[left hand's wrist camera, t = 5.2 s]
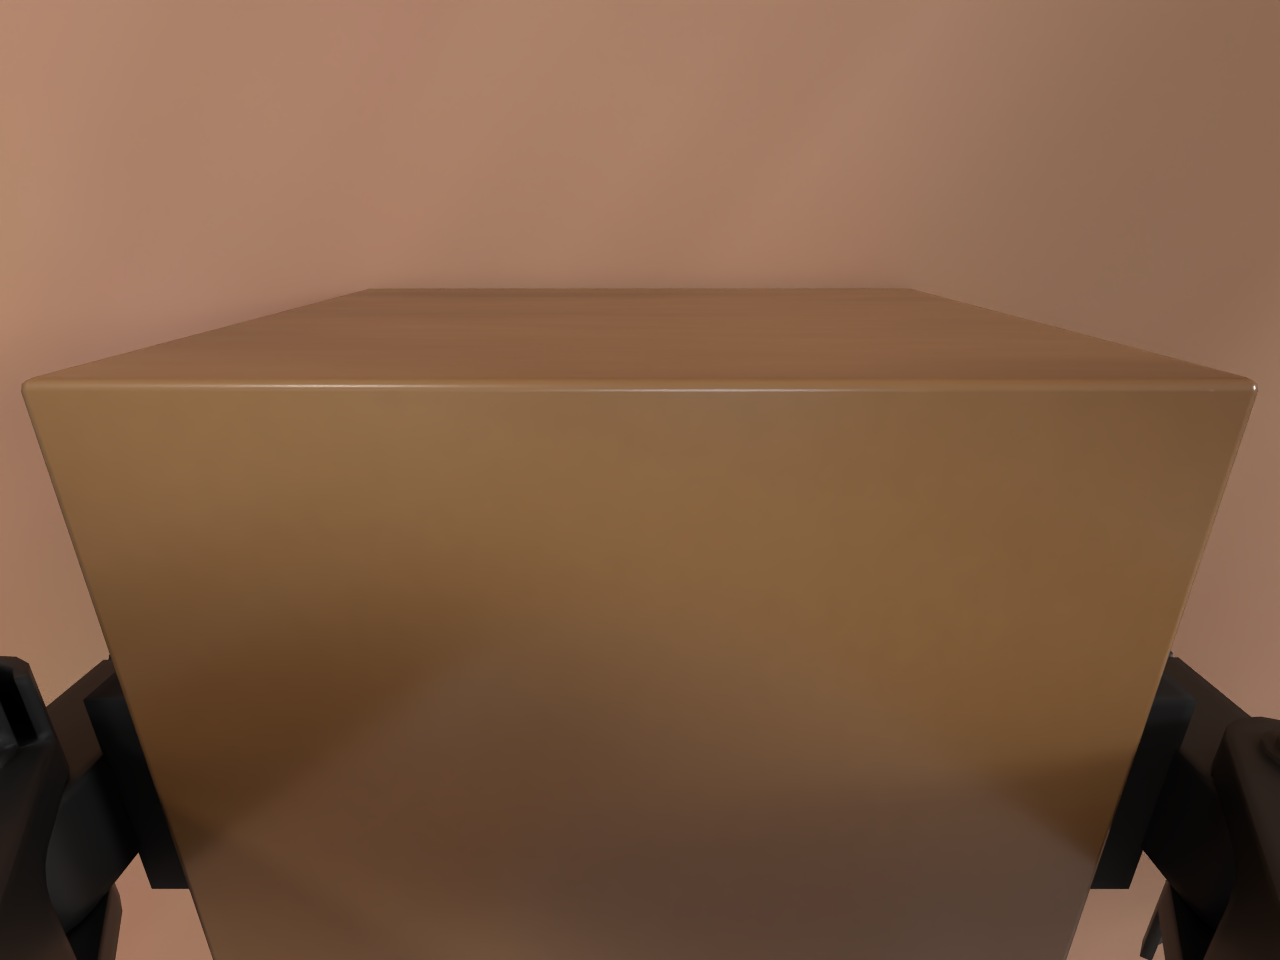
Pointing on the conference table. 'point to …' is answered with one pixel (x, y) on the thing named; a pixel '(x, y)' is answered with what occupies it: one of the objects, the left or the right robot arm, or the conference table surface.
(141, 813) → the left robot arm
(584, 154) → the conference table surface
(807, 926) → the long wooden beam
